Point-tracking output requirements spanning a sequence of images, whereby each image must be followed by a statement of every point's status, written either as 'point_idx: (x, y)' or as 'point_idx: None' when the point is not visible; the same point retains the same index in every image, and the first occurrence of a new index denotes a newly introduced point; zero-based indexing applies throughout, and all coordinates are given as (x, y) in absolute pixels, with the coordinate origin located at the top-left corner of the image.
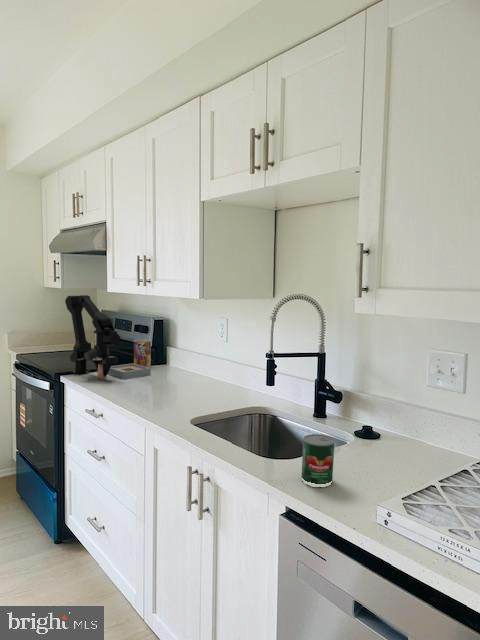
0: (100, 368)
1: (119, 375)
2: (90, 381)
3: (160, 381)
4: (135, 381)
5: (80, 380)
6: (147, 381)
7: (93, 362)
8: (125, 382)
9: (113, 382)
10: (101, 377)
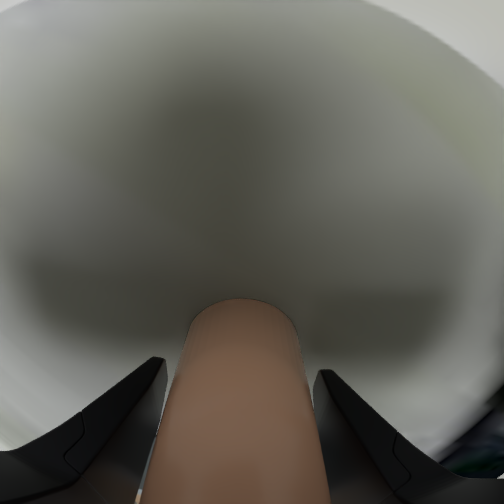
0: (177, 444)
1: (150, 455)
2: (187, 128)
3: (17, 445)
4: (27, 411)
5: (352, 61)
6: (21, 430)
7: (487, 481)
8: (9, 364)
9: (21, 311)
10: (193, 332)
